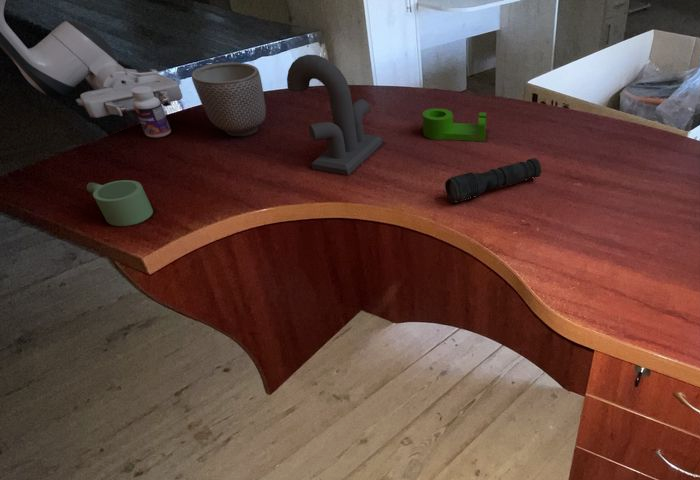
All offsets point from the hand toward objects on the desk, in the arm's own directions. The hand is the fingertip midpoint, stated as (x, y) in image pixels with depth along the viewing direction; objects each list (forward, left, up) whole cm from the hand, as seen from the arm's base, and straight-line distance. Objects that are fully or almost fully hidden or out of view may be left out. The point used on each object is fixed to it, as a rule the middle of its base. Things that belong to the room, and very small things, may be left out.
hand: (145, 107), depth 121 cm
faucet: (+38, -22, -6) cm, 44 cm away
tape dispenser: (+67, -19, -6) cm, 70 cm away
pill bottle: (+1, -2, -6) cm, 6 cm away
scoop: (-3, -37, -5) cm, 38 cm away
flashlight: (+67, -48, -6) cm, 82 cm away
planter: (+19, -5, -6) cm, 20 cm away
